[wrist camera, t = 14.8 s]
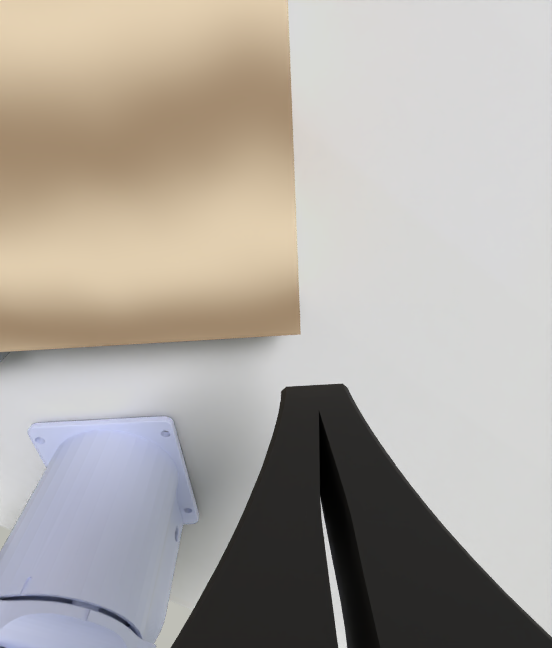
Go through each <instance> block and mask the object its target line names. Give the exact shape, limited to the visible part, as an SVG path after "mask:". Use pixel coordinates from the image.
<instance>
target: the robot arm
mask: <svg viewBox="0 0 552 648" xmlns="http://www.w3.org/2000/svg"><path fill="white" fill-rule="evenodd" d="M165 431H168V432H165ZM27 432H28V435H29V437H30V439H31V440H32V442H33V444H34V446H35V448H36V450H37V451H38V453H39V455H40V457H41V459H42V461H43V462H44V464H45V466H46V470H45V472H44V473H43V475H42V477H41V479H40V481H39V483H38V484H37V486H36V488H35V490H34V492H33V493H32V495H31V497H30V499H29V501H28V502H27V504H26V506H25V508H24V510H23V511H22V513H21V515H20V517H19V519H18V520H17V522H16V524H15V526H14V528H13V529H12V531H11V533H10V535H9V537H8V538H7V540H6V542H5V544H4V546H3V548H2V549H1V551H0V648H156V645H155V644H154V642H155V641H156V639H157V637H158V635H159V633H160V631H161V628H162V626H163V624H164V620H165V616H166V611H167V607H168V601H169V596H170V591H171V585H172V580H173V575H174V570H175V564H176V559H177V554H178V549H179V543H180V538H181V533H182V528H183V524H195V523H196V522H198V520H199V512H198V509H197V505H196V501H195V498H194V494H193V490H192V487H191V483H190V479H189V476H188V472H187V468H186V465H185V461H184V457H183V454H182V450H181V446H180V443H179V439H178V435H177V432H176V428H175V425H174V422H173V420H172V419H171V418H169V417H167V416H157V417H138V418H120V419H101V420H83V421H65V422H46V423H34V424H32V425H31V426H30V427H29V429H28V431H27ZM320 498H321V503H322V509H323V514H324V519H325V524H326V529H327V534H328V539H329V544H330V550H331V555H332V560H333V565H334V570H335V575H336V580H337V585H338V590H339V595H340V601H341V606H342V613H343V619H344V625H345V632H346V640H347V648H552V637H551V636H550V635H549V634H548V633H547V632H546V631H545V630H544V629H543V628H541V627H540V626H539V625H538V624H537V623H536V622H535V621H534V620H533V619H532V618H531V617H530V616H529V615H528V614H527V613H526V612H525V611H524V610H523V609H522V608H521V607H520V606H519V605H518V604H517V603H516V602H515V601H514V600H513V599H512V598H511V597H510V596H508V595H507V594H506V593H505V592H504V590H503V589H502V588H501V587H500V586H499V585H498V584H497V583H496V582H495V581H494V580H493V579H492V578H491V577H490V576H489V575H488V574H487V573H486V572H485V571H484V570H483V568H482V567H481V566H480V565H479V564H478V563H477V562H476V561H475V560H474V559H473V558H472V557H471V556H470V555H469V554H468V552H467V551H466V550H465V549H464V548H463V547H462V546H461V545H460V544H459V542H458V541H457V540H456V539H455V538H454V537H453V536H452V535H451V533H450V532H449V531H448V530H447V529H446V528H445V527H444V525H443V524H442V523H441V522H440V521H439V520H438V518H437V517H436V516H435V515H434V514H433V512H432V511H431V510H430V509H429V508H428V506H427V505H426V504H425V503H424V501H423V500H422V499H421V498H420V496H419V495H418V494H417V493H416V491H415V490H414V489H413V487H412V486H411V485H410V484H409V482H408V481H407V480H406V478H405V477H404V476H403V474H402V473H401V472H400V470H399V469H398V468H397V466H396V465H395V463H394V462H393V461H392V459H391V458H390V456H389V455H388V454H387V452H386V451H385V449H384V448H383V447H382V445H381V444H380V442H379V441H378V439H377V438H376V436H375V435H374V433H373V432H372V430H371V429H370V427H369V425H368V424H367V422H366V421H365V419H364V417H363V416H362V414H361V412H360V411H359V409H358V407H357V405H356V404H355V402H354V400H353V398H352V396H351V394H350V392H349V390H348V388H347V387H346V386H345V385H343V384H328V385H310V386H292V387H286V388H285V389H283V390H282V391H281V402H280V408H279V413H278V417H277V421H276V425H275V429H274V432H273V436H272V439H271V442H270V445H269V448H268V451H267V454H266V457H265V460H264V463H263V466H262V468H261V471H260V474H259V476H258V479H257V481H256V483H255V486H254V488H253V491H252V493H251V496H250V498H249V500H248V503H247V505H246V508H245V510H244V512H243V514H242V517H241V519H240V521H239V523H238V525H237V527H236V530H235V532H234V534H233V536H232V538H231V540H230V542H229V544H228V546H227V548H226V550H225V552H224V554H223V556H222V558H221V560H220V562H219V564H218V566H217V568H216V570H215V571H214V573H213V575H212V577H211V579H210V580H209V582H208V584H207V586H206V588H205V590H204V591H203V593H202V595H201V597H200V599H199V601H198V602H197V604H196V606H195V608H194V609H193V611H192V613H191V615H190V617H189V618H188V620H187V622H186V623H185V625H184V627H183V628H182V630H181V632H180V634H179V635H178V637H177V638H176V640H175V642H174V643H173V645H172V647H171V648H338V643H337V636H336V628H335V621H334V613H333V605H332V598H331V590H330V583H329V575H328V567H327V559H326V551H325V544H324V536H323V528H322V520H321V505H320Z"/></svg>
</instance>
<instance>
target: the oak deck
mask: <svg viewBox="0 0 552 648" xmlns="http://www.w3.org/2000/svg"><path fill="white" fill-rule="evenodd" d="M298 334H300V308H299V282H298V256H297V230H296V204H295V177H294V151H293V125H292V99H291V73H290V47H289V21H288V0H0V352H8V351H25V350H42V349H59V348H77V347H94V346H111V345H128V344H145V343H162V342H179V341H196V340H213V339H230V338H247V337H264V336H281V335H298Z"/></svg>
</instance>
